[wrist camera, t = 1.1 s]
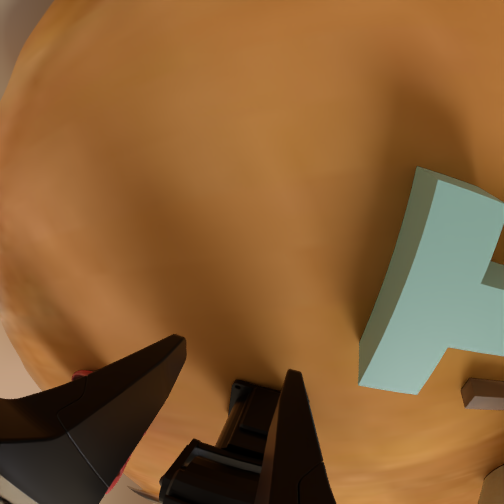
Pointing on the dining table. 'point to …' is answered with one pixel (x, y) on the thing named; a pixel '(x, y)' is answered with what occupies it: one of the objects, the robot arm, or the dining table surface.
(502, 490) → the plant pot
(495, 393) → the dock
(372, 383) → the tee
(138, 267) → the dining table surface
